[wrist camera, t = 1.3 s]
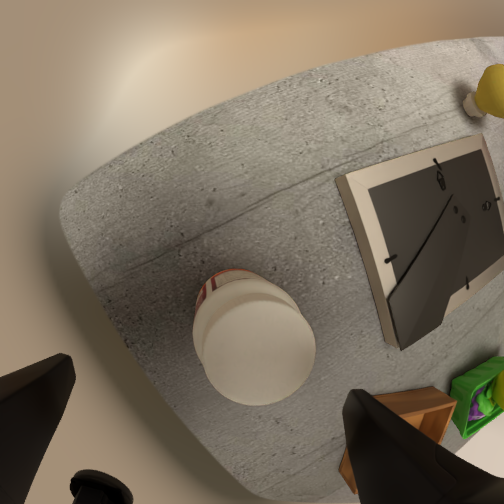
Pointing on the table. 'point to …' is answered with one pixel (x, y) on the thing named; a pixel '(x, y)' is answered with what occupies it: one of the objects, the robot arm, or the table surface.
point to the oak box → (413, 418)
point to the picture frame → (426, 232)
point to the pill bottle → (251, 338)
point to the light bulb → (487, 94)
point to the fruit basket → (478, 396)
